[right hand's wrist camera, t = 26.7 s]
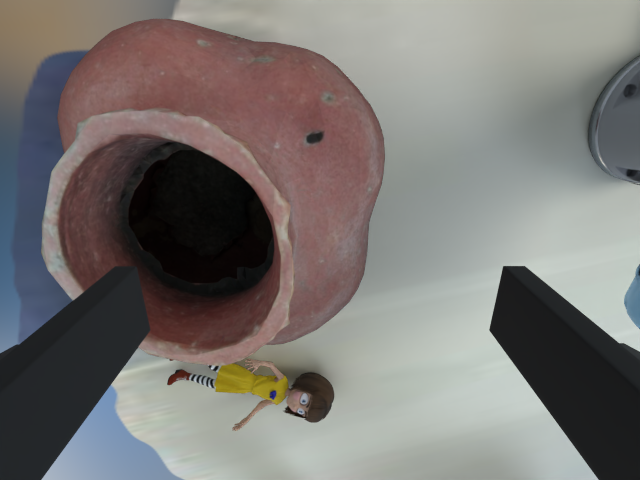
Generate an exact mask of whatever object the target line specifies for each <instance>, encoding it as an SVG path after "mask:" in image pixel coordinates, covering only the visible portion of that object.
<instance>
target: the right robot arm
mask: <svg viewBox="0 0 640 480" xmlns="http://www.w3.org/2000/svg"><path fill="white" fill-rule="evenodd" d="M589 145H590V149H591V153H592V155H593V157H594V159H595V161H596V163H597V164H598V165H599V166H600V167H601V169H602V170H604V171H605V172H606V173H608V174H609V175H611V176H613V177H616V178H619V179H622V180H626V181H630V182H635V183H640V56H638V57H637V58H635V59H634V60H632V61H631V62H629V63H628V64H627V65H626V66H625V67H623V68H622V69H621V70H620V71H619V72H618V73H617V74H616V75H615V76H614V77H613V78H612V80H611V81H610V82H609V83H608V85H607V86H606V87H605V89H604V90H603V92H602V93H601V95H600V97H599V99H598V101H597V103H596V105H595V107H594V110H593V113H592V116H591V120H590V125H589ZM630 182H629V183H630ZM635 183H633V184H635ZM637 185H640V184H637ZM624 304H625V307H626V309H627V313H628V315H629V317H630V318H631V320H632V321H633V322H634V323H635V325H636V326H637V327H638V328H639V329H640V265H639V266H638V267H637V269H636V276H635V278H634V280H633V282H632V284H631V285H630V287H629V289H628V291H627V293H626V295H625V298H624ZM149 332H150V325H149V321H148V316H147V311H146V307H145V302H144V298H143V293H142V289H141V284H140V279H139V275H138V270H137V266H115V267H114V268H112V269H111V270H110V271H109V272H108V273H106V274H105V275H104V276H103V277H101V278H100V279H99V280H98V281H97V282H95V283H94V284H93V285H92V286H90V287H89V288H88V289H87V290H86V291H84V292H83V293H82V294H81V295H79V296H78V297H77V298H76V299H75V300H73V301H72V302H71V303H70V304H68V305H67V306H66V307H65V308H64V309H62V310H61V311H60V312H59V313H57V314H56V315H55V316H54V317H53V318H51V319H50V320H49V321H48V322H46V323H45V324H44V325H43V326H42V327H40V328H39V329H38V330H37V331H35V332H34V333H33V334H32V335H30V336H29V337H28V338H27V339H26V340H24V341H23V342H22V343H21V344H19V345H15V346H13V347H11V348H9V349H8V350H6V351H4V352H2V353H0V480H41V479H42V478H43V476H44V475H45V474H46V472H47V471H48V470H49V468H50V467H51V466H52V464H53V463H54V461H55V460H56V459H57V457H58V456H59V455H60V453H61V452H62V451H63V449H64V448H65V446H66V445H67V444H68V442H69V441H70V440H71V438H72V437H73V436H74V434H75V433H76V431H77V430H78V429H79V427H80V426H81V425H82V423H83V422H84V421H85V419H86V418H87V416H88V415H89V414H90V412H91V411H92V410H93V408H94V407H95V405H96V404H97V403H98V401H99V400H100V399H101V397H102V396H103V395H104V393H105V392H106V390H107V389H108V388H109V386H110V385H111V384H112V382H113V381H114V380H115V378H116V377H117V375H118V374H119V373H120V371H121V370H122V369H123V367H124V366H125V365H126V363H127V362H128V360H129V359H130V358H131V356H132V355H133V354H134V352H135V351H136V349H137V348H138V347H139V345H140V344H141V343H142V341H143V340H144V339H145V337H146V336H147V334H148V333H149ZM490 332H491V333H492V334H493V336H494V337H495V339H496V340H497V341H498V343H499V344H500V345H501V347H502V348H503V349H504V351H505V352H506V354H507V355H508V356H509V358H510V359H511V360H512V362H513V363H514V365H515V366H516V367H517V369H518V370H519V371H520V373H521V374H522V375H523V377H524V378H525V380H526V381H527V382H528V384H529V385H530V386H531V388H532V389H533V390H534V392H535V393H536V395H537V396H538V397H539V399H540V400H541V401H542V403H543V404H544V406H545V407H546V408H547V410H548V411H549V412H550V414H551V415H552V416H553V418H554V419H555V421H556V422H557V423H558V425H559V426H560V427H561V429H562V430H563V431H564V433H565V434H566V436H567V437H568V438H569V440H570V441H571V442H572V444H573V445H574V446H575V448H576V449H577V451H578V452H579V453H580V455H581V456H582V457H583V459H584V460H585V462H586V463H587V464H588V466H589V467H590V468H591V470H592V471H593V472H594V474H595V475H596V477H597V478H598V479H599V480H640V352H639V351H637V350H635V349H633V348H631V347H630V346H628V345H626V344H624V343H618V342H617V341H616V340H614V339H613V338H612V337H611V336H610V335H608V334H607V333H606V332H605V331H603V330H602V329H601V328H600V327H598V326H597V325H596V324H595V323H594V322H592V321H591V320H590V319H589V318H587V317H586V316H585V315H584V314H583V313H581V312H580V311H579V310H578V309H576V308H575V307H574V306H573V305H572V304H570V303H569V302H568V301H567V300H565V299H564V298H563V297H562V296H561V295H559V294H558V293H557V292H556V291H554V290H553V289H552V288H551V287H550V286H548V285H547V284H546V283H545V282H543V281H542V280H541V279H540V278H539V277H537V276H536V275H535V274H534V273H532V272H531V271H530V270H529V269H528V268H526V267H525V266H503V270H502V275H501V279H500V284H499V289H498V293H497V298H496V302H495V307H494V311H493V316H492V321H491V325H490Z"/></svg>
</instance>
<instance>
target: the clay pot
mask: <svg viewBox="0 0 640 480" xmlns="http://www.w3.org/2000/svg"><path fill="white" fill-rule="evenodd" d="M57 119H58V124H59V129H60V135H61V140H62V145H63V150H64V155H63V156H62V158H61V159H60V160H59V162H58V163H57V165H56V166H55V167H54V169H53V170H52V172H51V178H50V184H49V190H48V196H47V201H46V207H45V212H44V216H43V220H42V248H41V254H42V256H43V259H44V261H45V264H46V266H47V269H48V271H49V272H50V273H51V274H52V276H53V277H54V278H55V279H56V281H57V282H58V283H59V284H60V286H61V287H62V288H63V289H64V290H65V292H66V293H67V294H68V295H69V297H70V298H71V299H72V300H75V299H76V298H77V297H78V296H79V295H81V294H82V293H83V292H84V291H86V290H87V289H88V288H89V287H90V286H92V285H93V284H94V283H95V282H97V281H98V280H99V279H100V278H101V277H103V276H104V275H105V274H106V273H108V272H109V271H110V270H111V269H112V268H114V267H115V266H137V270H138V275H139V279H140V284H141V289H142V293H143V298H144V302H145V307H146V311H147V316H148V321H149V325H150V332H149V333H148V334H147V336H146V337H145V339H144V340H143V341H142V343H141V344H140V345H139V348H140V349H142V350H143V351H145V352H146V353H147V354H150V355H154V356H158V357H162V358H167V359H173V360H178V361H183V362H188V363H195V364H204V365H213V366H222V365H229V364H232V363H235V362H238V361H241V360H243V359H245V358H247V357H248V356H250V355H252V354H253V353H255V352H256V351H257V350H258V349H259V348H260V347H262V346H263V345H274V344H283V343H287V342H290V341H293V340H296V339H298V338H300V337H302V336H304V335H306V334H308V333H310V332H312V331H315V330H317V329H318V328H319V327H321V326H322V325H323V324H325V323H326V322H327V321H329V320H330V319H331V318H332V317H334V316H335V315H336V314H337V313H338V312H339V311H340V310H341V309H342V308H343V307H344V306H345V305H346V304H347V303H348V302H349V301H350V300H351V298H352V297H353V295H354V294H355V292H356V291H357V289H358V287H359V284H360V282H361V280H362V277H363V275H364V270H365V263H366V256H367V246H368V230H369V221H370V217H371V214H372V211H373V208H374V205H375V202H376V199H377V196H378V193H379V190H380V187H381V184H382V178H383V171H384V160H385V151H384V138H383V134H382V130H381V127H380V124H379V121H378V119H377V117H376V115H375V113H374V111H373V109H372V107H371V105H370V104H369V103H368V101H367V100H366V99H365V98H364V96H363V95H362V94H361V92H360V91H359V89H358V88H357V87H356V86H355V85H354V84H353V83H352V82H351V81H350V79H349V78H348V77H347V76H346V75H345V74H344V73H343V72H342V71H341V70H340V69H339V68H338V67H337V66H336V65H335V64H333V63H332V62H331V61H329V60H328V59H327V58H325V57H324V56H322V55H320V54H317V53H315V52H313V51H310V50H308V49H304V48H300V47H296V46H291V45H286V44H280V43H275V42H254V41H251V40H247V39H244V38H240V37H237V36H233V35H229V34H226V33H222V32H218V31H215V30H211V29H208V28H204V27H200V26H197V25H194V24H191V23H187V22H184V21H178V20H170V19H150V20H144V21H139V22H134V23H132V24H129V25H127V26H124V27H121V28H119V29H117V30H114V31H112V32H110V33H109V34H108V35H107V36H105V37H104V38H103V39H102V40H101V41H99V42H98V43H97V44H96V45H95V46H94V47H93V48H92V49H91V50H90V51H89V52H88V53H87V54H86V55H85V56H84V57H83V59H82V60H81V61H80V62H79V63H78V65H77V66H76V67H75V68H74V70H73V71H72V73H71V74H70V76H69V78H68V80H67V82H66V85H65V87H64V89H63V92H62V94H61V98H60V104H59V111H58V117H57Z"/></svg>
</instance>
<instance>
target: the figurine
mask: <svg viewBox="0 0 640 480" xmlns="http://www.w3.org/2000/svg"><path fill="white" fill-rule="evenodd" d="M172 360H173V359H170V361H172ZM247 360H251V361H245V362H251V363H249V364H245V366H247V365H252V366H251V367H249V368H247V369H246V368H244V367H242V366H239V365H237V364H234V363H232V364H229V365H222V366H213V365H208V366H209V368H210V369H212V370H214V371H215V372H218V375H217V378H216V380H214V379H211V378H209V377H207V376H203V375H194V374H191V373H187V372H186V371H184V370H176V372H175V374H173V375H171V376H170V377H169V379H168V383H167V385H171V384H172V383H174V382H176V381H178V380H185V381H186V380H191V381H194V382H197V383H200V384H202V385H205V386H207V387H209V388H215V389H216V392H228V393H248V392H252V394H253V395H259V396H260V397H262V398H264V399H266V400H263V401H261V402H260V403H259V404H258V405H257V406H256V408H255V409H254V410H253V411H252V412H251V413H250V414H249V415H248V416H247V417H246V418H244V419H243V420H242V421H241V422H240V423H238V424H235V425H237V426H235V427H233V428H232V429H233V430H235V431H236V430H239V429H240V428H241V427H243V426H244V425H245V424H246V423H247V422H248V421H249V420H250V418H251V417H252V416H253V415H255V414H256V413H257V412H258V411H259V410H261V409H262V408H264V407H265V406H267V405H270V404H276V405H278V404H279V403H281V402H282V401H283V400H284V399H285V397H286V396H289V397H288V398H287V404H288V406H287V408H285V409H286V412H285V410H283V412H285V413H289V414H290V415H291V414H292V415H294V414H295V415H294V416H297V417H301V418H305V419H304V420H307V421H309V422H312V423H313V422H319V421H320V420H321V419H322V418H323V419H324V418H325V417H326V415H327V414H328V413H329V411H330V409H331V405H332V402H333V400H334V390H333V387H332V385H331V384H330V382H329V381H328V380H327V379H326V378H324V377H323V376H321V375H319V374H316V373H304V375H303V374H302V375H301V376H299V377H298V378H297V379H296V381H294V384H293V385H292V386H293V388H292V389H290V388H289V385H288V380H287V378H286V376H285V375H283V374H282V373H281V372H280V371H279V370H278V369H277V368H276V366H275V365H274V364H273V363H272V362H268V361H258V360H252V359H247ZM260 365H262V366H266V367H269V368H270V369H271V370H272V371H273V372H274V373H275V375H276V376H271V375H268V376H262V375H258V376H257V375H254V374H253V372H254V371H255V370H257V369H258V367H259V366H260ZM251 368H254V370H253V371H252V372H251V371H249V369H251ZM299 378H300V379H299Z"/></svg>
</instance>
